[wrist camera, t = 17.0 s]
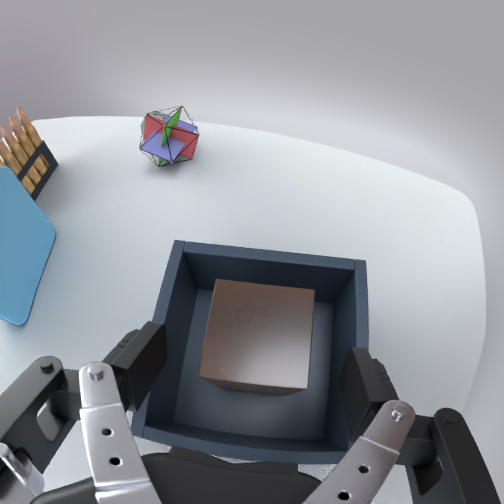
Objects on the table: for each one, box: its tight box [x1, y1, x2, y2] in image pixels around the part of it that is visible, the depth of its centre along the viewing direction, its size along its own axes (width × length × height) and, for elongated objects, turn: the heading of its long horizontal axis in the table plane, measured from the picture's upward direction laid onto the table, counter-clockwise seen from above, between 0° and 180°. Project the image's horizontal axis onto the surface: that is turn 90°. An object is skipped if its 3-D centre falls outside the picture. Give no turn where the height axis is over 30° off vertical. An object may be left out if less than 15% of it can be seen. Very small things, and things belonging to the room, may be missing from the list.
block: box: [198, 279, 315, 397], centre depth 16 cm, size 4×4×10 cm
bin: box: [131, 240, 369, 464], centre depth 18 cm, size 13×13×7 cm
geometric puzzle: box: [139, 105, 200, 167], centre depth 30 cm, size 7×7×8 cm
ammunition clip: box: [0, 107, 58, 202], centre depth 26 cm, size 11×2×12 cm, turn 172°
